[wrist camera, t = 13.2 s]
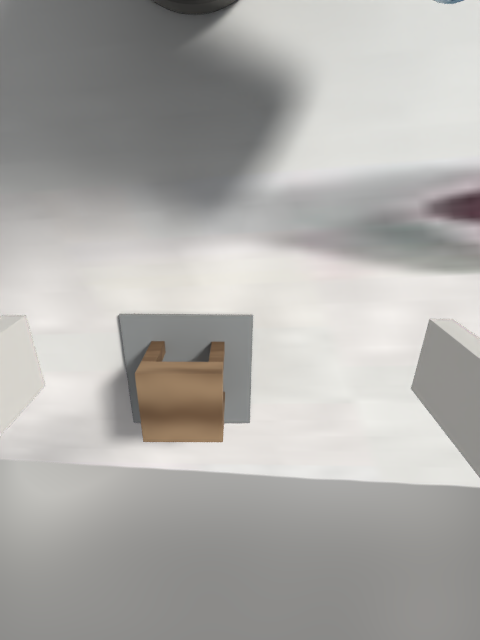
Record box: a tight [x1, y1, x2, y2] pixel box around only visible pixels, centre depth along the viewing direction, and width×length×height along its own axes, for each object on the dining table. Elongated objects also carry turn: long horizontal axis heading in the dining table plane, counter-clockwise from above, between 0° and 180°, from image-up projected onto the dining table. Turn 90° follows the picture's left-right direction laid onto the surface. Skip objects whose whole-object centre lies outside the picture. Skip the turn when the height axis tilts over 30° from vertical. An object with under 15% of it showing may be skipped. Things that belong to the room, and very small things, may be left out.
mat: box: [119, 314, 253, 423], centre depth 43 cm, size 16×16×1 cm
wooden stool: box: [135, 341, 225, 442], centre depth 40 cm, size 9×9×8 cm
